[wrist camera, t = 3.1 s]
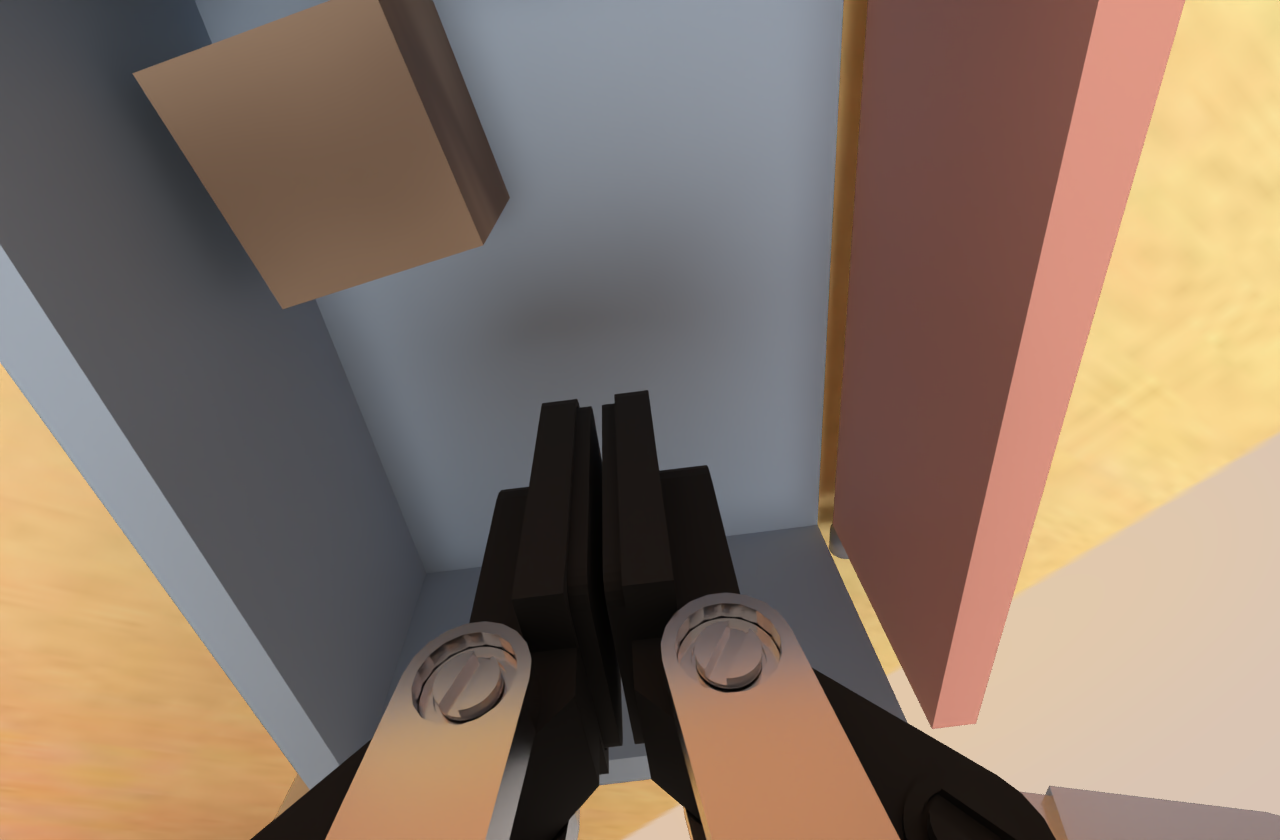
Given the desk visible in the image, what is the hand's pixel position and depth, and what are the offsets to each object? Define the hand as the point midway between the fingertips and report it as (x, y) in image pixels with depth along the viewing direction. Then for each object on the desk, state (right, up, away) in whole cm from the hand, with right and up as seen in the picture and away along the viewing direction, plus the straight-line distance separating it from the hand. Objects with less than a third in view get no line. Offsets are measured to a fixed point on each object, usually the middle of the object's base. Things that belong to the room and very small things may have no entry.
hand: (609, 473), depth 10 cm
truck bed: (-2, +4, +7) cm, 8 cm away
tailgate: (+6, +4, +6) cm, 10 cm away
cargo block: (-5, +8, +4) cm, 10 cm away
